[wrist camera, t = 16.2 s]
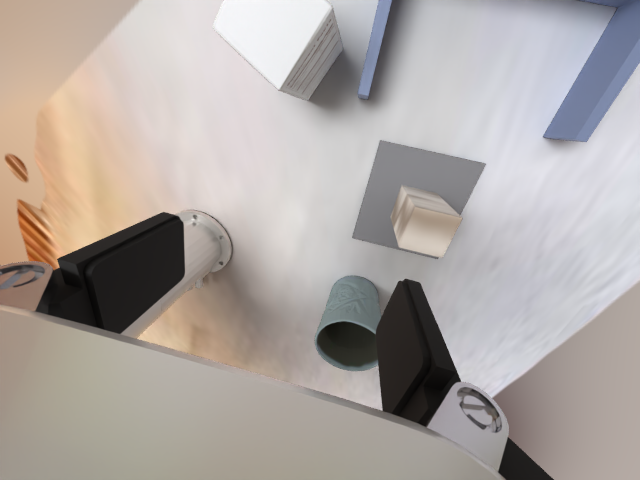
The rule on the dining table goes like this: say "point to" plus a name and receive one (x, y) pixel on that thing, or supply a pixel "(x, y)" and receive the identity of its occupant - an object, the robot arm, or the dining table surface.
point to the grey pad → (413, 171)
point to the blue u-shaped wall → (591, 84)
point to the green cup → (350, 325)
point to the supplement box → (283, 40)
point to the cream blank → (423, 221)
